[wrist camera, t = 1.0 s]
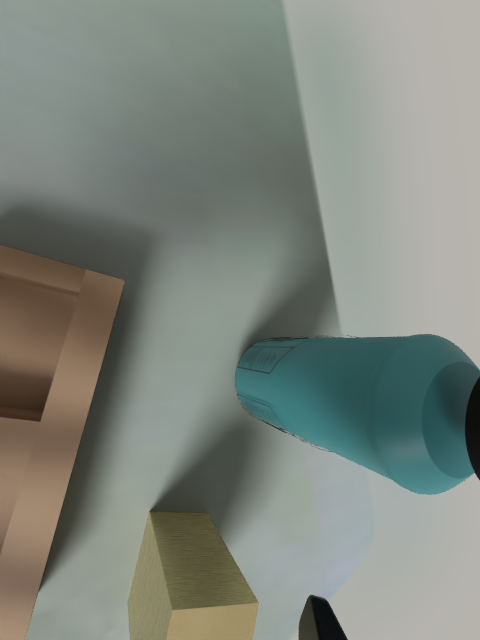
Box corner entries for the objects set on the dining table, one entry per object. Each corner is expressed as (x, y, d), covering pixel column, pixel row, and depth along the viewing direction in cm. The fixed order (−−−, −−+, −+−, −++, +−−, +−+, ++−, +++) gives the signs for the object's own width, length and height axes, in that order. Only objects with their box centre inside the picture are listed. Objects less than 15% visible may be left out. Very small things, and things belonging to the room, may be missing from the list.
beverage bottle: (236, 427, 25) (568, 650, 7) (215, 348, 25) (502, 367, 7) (300, 399, 28) (669, 509, 10) (282, 327, 28) (624, 299, 9)
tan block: (189, 598, 23) (233, 741, 15) (127, 603, 22) (138, 766, 13) (207, 513, 24) (258, 602, 16) (149, 511, 22) (172, 610, 14)
